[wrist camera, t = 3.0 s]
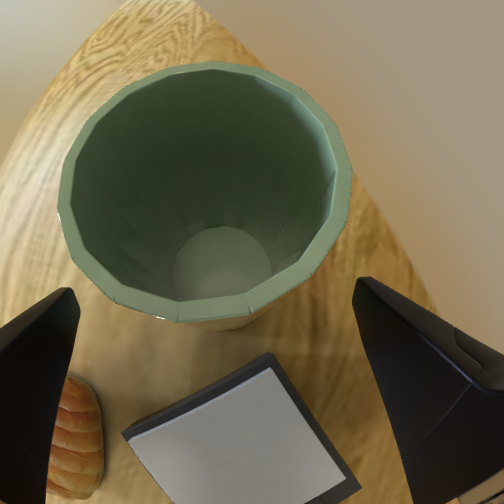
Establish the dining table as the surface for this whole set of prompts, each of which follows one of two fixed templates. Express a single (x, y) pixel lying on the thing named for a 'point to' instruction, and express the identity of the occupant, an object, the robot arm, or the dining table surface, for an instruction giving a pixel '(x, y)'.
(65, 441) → the pastry
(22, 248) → the dining table surface
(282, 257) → the cup
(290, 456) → the scale
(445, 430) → the robot arm
